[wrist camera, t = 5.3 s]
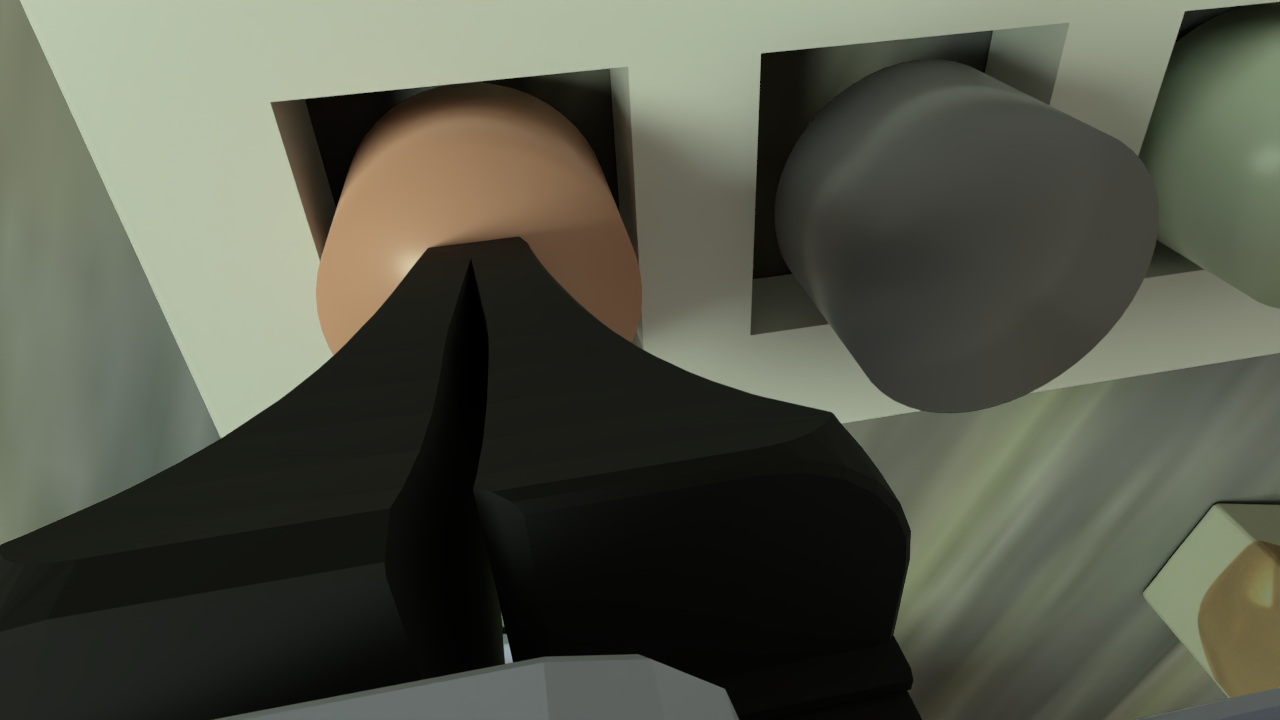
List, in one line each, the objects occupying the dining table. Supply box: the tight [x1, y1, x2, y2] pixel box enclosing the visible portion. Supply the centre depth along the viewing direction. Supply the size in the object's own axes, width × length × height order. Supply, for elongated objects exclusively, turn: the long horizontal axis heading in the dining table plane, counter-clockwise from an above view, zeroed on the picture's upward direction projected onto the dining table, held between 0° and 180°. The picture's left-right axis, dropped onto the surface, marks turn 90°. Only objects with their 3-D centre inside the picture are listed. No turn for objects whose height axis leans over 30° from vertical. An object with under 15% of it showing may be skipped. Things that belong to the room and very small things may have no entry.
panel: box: [20, 0, 1280, 438], centre depth 14 cm, size 10×24×2 cm, turn 93°
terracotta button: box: [316, 83, 642, 355], centre depth 12 cm, size 4×4×3 cm
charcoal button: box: [774, 59, 1159, 413], centre depth 12 cm, size 4×4×3 cm
